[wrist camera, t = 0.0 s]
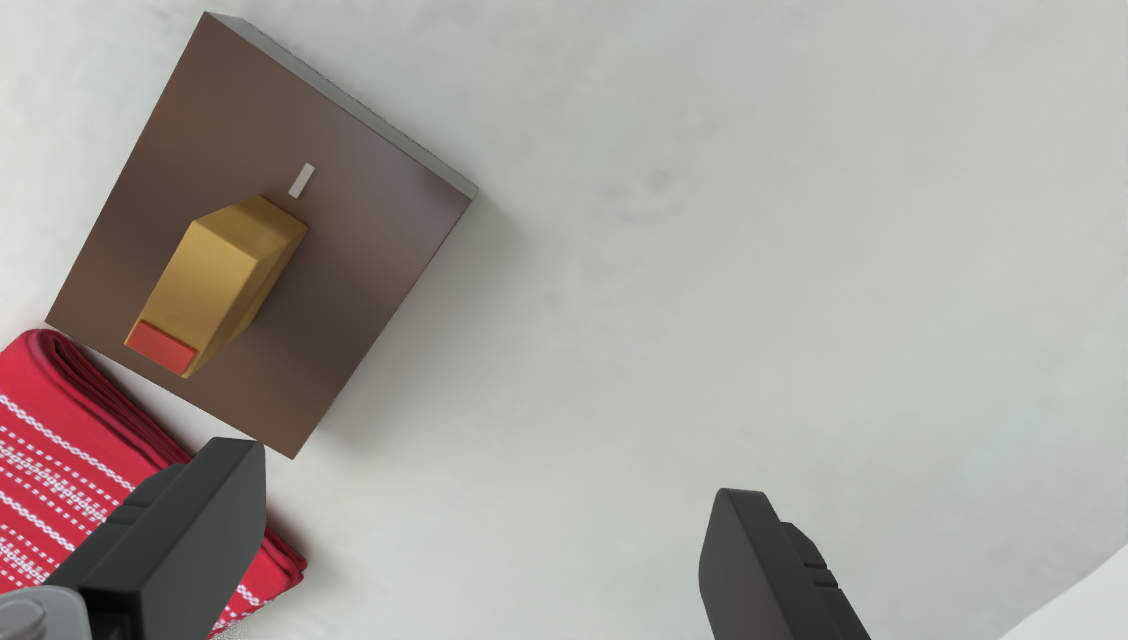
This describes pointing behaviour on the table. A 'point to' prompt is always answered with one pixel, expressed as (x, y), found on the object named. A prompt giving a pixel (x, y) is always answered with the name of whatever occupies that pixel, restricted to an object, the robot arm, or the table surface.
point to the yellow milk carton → (215, 283)
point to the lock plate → (292, 183)
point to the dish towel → (88, 469)
